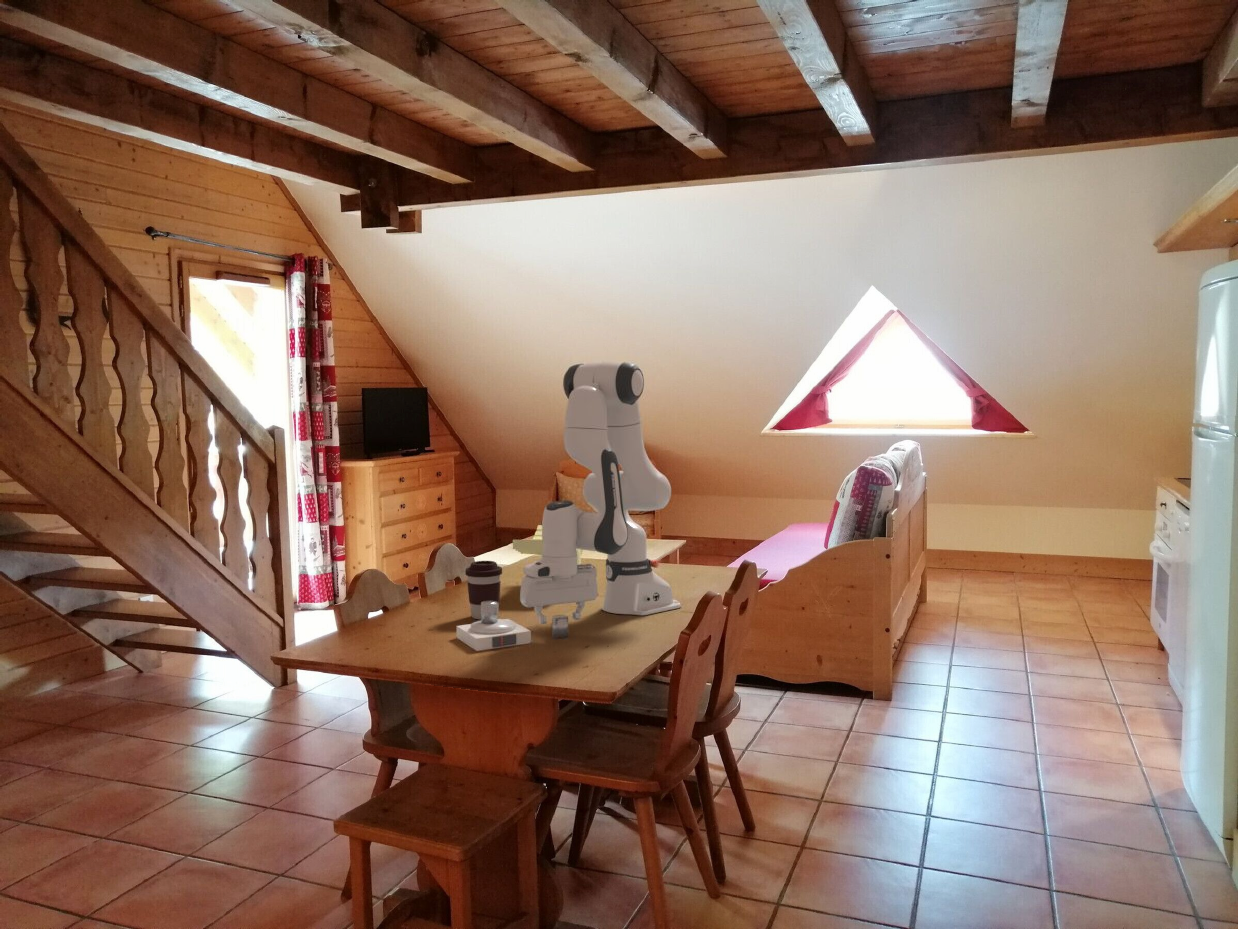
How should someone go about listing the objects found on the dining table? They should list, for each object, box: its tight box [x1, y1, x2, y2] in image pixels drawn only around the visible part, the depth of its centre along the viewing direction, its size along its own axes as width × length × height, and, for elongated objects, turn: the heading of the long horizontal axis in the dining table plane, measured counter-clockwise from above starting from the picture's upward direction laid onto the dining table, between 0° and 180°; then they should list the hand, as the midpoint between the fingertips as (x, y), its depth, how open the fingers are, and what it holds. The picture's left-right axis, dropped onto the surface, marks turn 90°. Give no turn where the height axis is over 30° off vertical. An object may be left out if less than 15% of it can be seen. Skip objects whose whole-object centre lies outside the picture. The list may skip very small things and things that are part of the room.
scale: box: [456, 618, 532, 652], centre depth 234 cm, size 14×15×4 cm
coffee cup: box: [465, 560, 503, 621], centre depth 258 cm, size 10×10×15 cm
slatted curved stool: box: [512, 524, 584, 565], centre depth 293 cm, size 30×16×18 cm, turn 170°
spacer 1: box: [480, 601, 499, 624], centre depth 236 cm, size 4×4×5 cm
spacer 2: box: [551, 614, 569, 640], centre depth 237 cm, size 4×4×5 cm
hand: (559, 621), depth 236 cm, fingers open, 8 cm apart
